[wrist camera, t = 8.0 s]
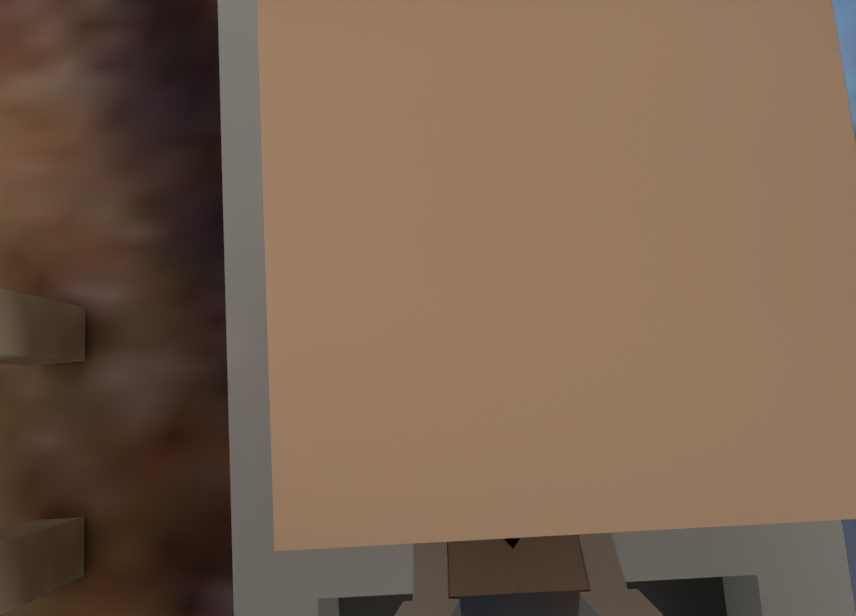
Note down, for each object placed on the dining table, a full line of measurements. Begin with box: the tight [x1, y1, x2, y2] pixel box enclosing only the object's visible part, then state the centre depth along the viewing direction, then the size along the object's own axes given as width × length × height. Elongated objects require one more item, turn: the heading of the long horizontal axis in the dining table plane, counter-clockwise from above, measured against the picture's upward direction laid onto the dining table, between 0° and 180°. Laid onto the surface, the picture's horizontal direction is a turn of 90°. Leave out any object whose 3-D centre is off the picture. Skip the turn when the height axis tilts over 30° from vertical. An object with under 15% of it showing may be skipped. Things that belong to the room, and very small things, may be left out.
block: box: [257, 0, 856, 551], centre depth 11 cm, size 6×6×9 cm
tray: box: [218, 0, 856, 616], centre depth 16 cm, size 32×14×2 cm, turn 4°
